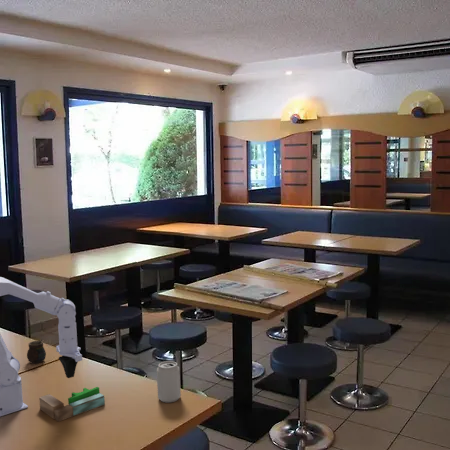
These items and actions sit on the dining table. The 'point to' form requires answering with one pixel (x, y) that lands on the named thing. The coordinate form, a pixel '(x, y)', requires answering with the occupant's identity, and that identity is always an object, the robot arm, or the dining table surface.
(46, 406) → the brown wooden block
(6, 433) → the dining table surface
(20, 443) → the dining table surface
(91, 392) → the pipe clamp
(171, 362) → the can
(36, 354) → the mate gourd
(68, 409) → the rail
